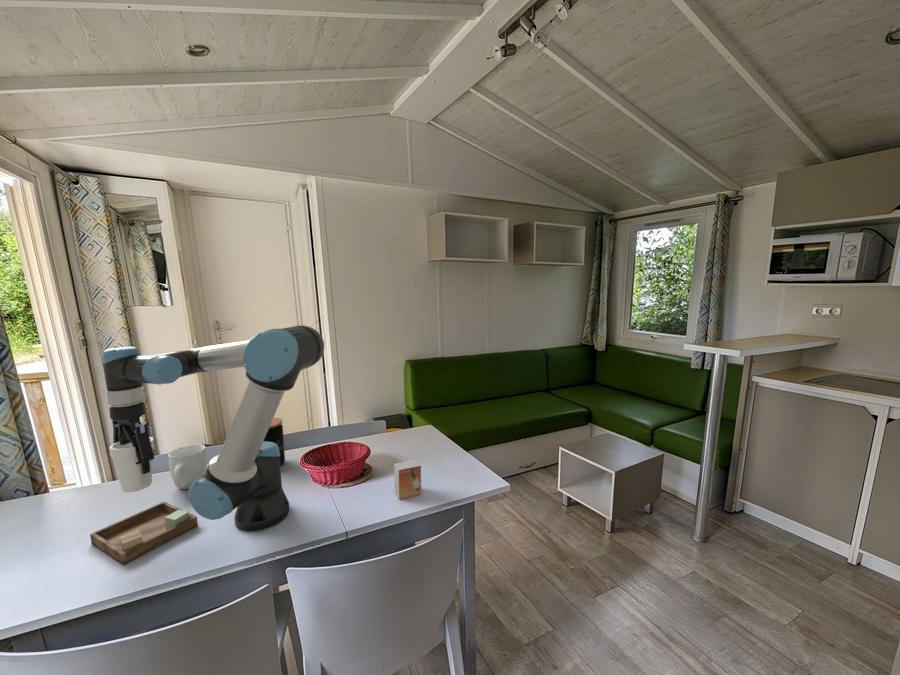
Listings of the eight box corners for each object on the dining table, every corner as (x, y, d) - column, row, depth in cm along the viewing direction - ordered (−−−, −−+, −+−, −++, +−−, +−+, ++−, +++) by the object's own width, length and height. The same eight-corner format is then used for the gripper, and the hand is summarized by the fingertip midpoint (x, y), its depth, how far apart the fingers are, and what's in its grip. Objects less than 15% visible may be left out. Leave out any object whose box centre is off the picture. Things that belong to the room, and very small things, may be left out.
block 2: (189, 524, 111) (188, 511, 110) (176, 532, 107) (175, 519, 106) (179, 522, 112) (178, 509, 111) (166, 530, 108) (164, 517, 108)
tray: (197, 525, 111) (196, 516, 111) (123, 565, 95) (122, 554, 95) (165, 510, 119) (164, 501, 119) (91, 544, 103) (90, 534, 103)
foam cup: (133, 497, 101) (127, 451, 99) (106, 493, 102) (100, 448, 101) (166, 479, 110) (161, 437, 108) (140, 477, 112) (135, 435, 110)
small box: (398, 500, 124) (398, 470, 122) (394, 492, 129) (393, 463, 128) (421, 494, 127) (421, 465, 126) (416, 487, 132) (415, 458, 131)
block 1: (143, 550, 100) (142, 536, 99) (124, 558, 97) (122, 543, 96) (140, 543, 102) (139, 529, 102) (121, 550, 100) (120, 537, 99)
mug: (196, 496, 127) (193, 460, 125) (159, 500, 125) (155, 463, 123) (213, 475, 141) (210, 442, 140) (180, 479, 139) (177, 445, 137)
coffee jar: (277, 471, 144) (274, 426, 142) (250, 471, 144) (246, 427, 142) (289, 459, 155) (287, 417, 152) (264, 459, 155) (261, 417, 153)
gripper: (164, 404, 101) (172, 482, 104) (123, 395, 111) (132, 466, 114) (130, 412, 95) (140, 495, 97) (91, 401, 105) (101, 477, 107)
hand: (136, 479), depth 106 cm, fingers closed on foam cup, 9 cm apart
